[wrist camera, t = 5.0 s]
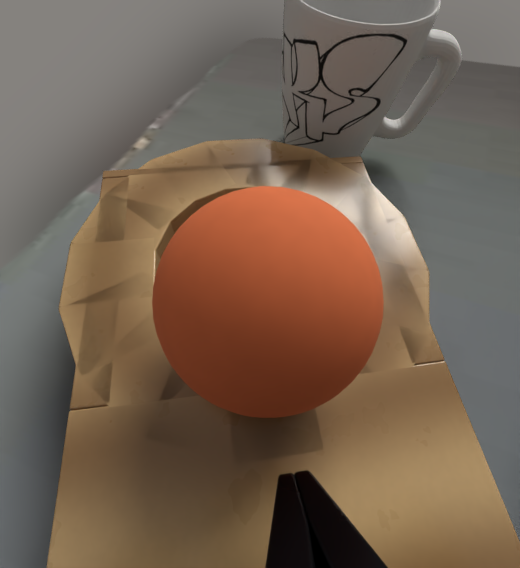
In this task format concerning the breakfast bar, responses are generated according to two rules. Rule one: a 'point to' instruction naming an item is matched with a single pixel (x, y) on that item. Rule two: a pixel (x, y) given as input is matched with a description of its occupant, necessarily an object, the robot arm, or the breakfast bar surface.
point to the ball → (267, 302)
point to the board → (253, 430)
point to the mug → (358, 70)
